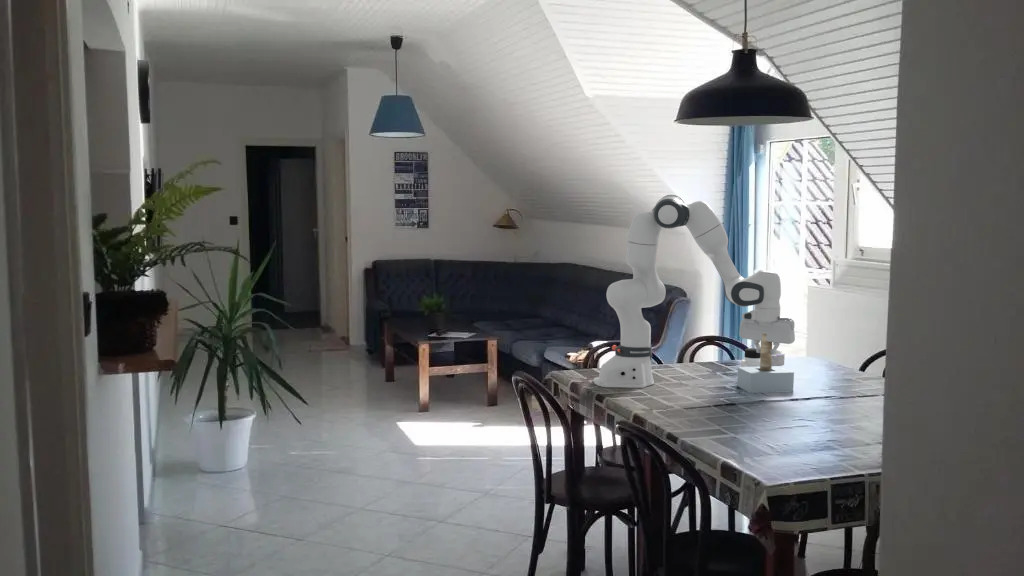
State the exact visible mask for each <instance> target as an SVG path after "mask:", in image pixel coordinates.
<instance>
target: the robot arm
mask: <svg viewBox="0 0 1024 576" xmlns="http://www.w3.org/2000/svg"><path fill="white" fill-rule="evenodd" d="M684 226H685V227H686V228H687V229H688V231H689V232H690V234H691V236H692V238H693V239H694V241H695V243H696V244H697V245H698V247H699V249H700V250H701V251H702V252H703V254H705V255H706V256H707V257H708V258H709V259H710V260H711V262H712V264H713V265H714V268H715V269H716V271H717V273H718V275H719V277H720V279H721V280H722V282H723V292H724V293H723V294H724V296H725V298H726V300H727V301H728V302H730V303H732V304H733V305H737V306H738V307H743V308H745V307H749V306H754V310H750V311H747V312H743V313H741V318H742V320H741V321H740V325H739V332H738V333H739V337H740V338H741V339H744V340H751V341H753V344H754V346H755V348H757V353H760V352H761V341H762V334H767V336H766V340H767V341H768V342H772V346H773V347H772V349H771V350H770V354H772V355H775V354H776V350H778V348H779V346H780V344H784V345H785V344H786V345H790V344H793V343H794V342H795V340H796V339H795V337H796V336H795V335H796V334H795V321H794V320H793V319H792V318H791V317H785V316H781V304H780V298H781V296H782V295H781V294H782V288H781V287H782V286H781V279H780V276H779V274H778V273H776V272H774V271H770V270H764V269H762V270H761V269H760V270H757V272H756V273H753V274H752V275H750V276H748V277H743V276H742V275H741V274H740V273H739V271H738V269H737V268H736V266H735V264H734V262H733V261H732V259H731V256H730V254H729V251H728V250H729V249H728V244H729V238H728V234H727V232H726V229H725V227H724V225H723V223H722V222H721V220H720V218H719V216H718V215H717V214H716V212H715V211H714V210H713V209H712V207H711V206H710V205H709V204H708V203H707V202H706V201H703V200H697V201H693V202H692V203H690V204H686V203H685V202H684V200H683V199H682V198H681V197H679V196H678V195H676V194H667V195H665V196H663V197H661V198H660V199H658V201H657V202H656V204H655V205H654V207H653V208H652V209H651V211H641V212H637V213H636V214H634V216H633V217H632V219H631V223H630V227H629V230H628V235H627V242H626V253H625V263H626V264H627V266H629V267H630V268H631V269H632V275H633V276H632V278H630V279H621V280H618V281H615V282H612V283H611V284H610V285H608V287H607V289H606V294H605V295H606V296H605V297H606V300H607V303H608V305H609V306H610V307H611V308H612V309H613V310H614V311H615V312H616V315H617V318H618V320H619V325H620V344H619V345H618V346H617V345H616V344H613V345H612V346H611V349H612V351H614V353H615V355H614V356H612V357H611V358H610V359H608V360H607V361H605V362H604V363H602V365H601V367H600V370H599V375H598V377H597V376H596V377H594V378H593V384H595V385H596V386H597V387H598V386H599V387H602V388H631V389H632V388H635V389H636V388H637V389H638V388H639V389H643V388H646V387H648V386H652V385H654V384H655V381H654V376H653V371H652V363H651V362H652V357H653V348H652V344H651V343H652V342H651V339H652V337H651V335H652V334H651V333H652V327H651V324H650V322H649V321H648V320H646V319H645V318H644V316H643V312H642V309H643V308H652V307H655V306H657V305H659V304H662V303H663V302H664V300H665V298H666V293H667V292H666V291H667V290H666V286H665V285H664V283H663V281H661V279H660V277H659V274H658V270H657V256H658V255H657V253H658V246H659V245H658V244H659V238H660V234H661V231H662V229H676V228H679V227H684Z"/></svg>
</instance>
